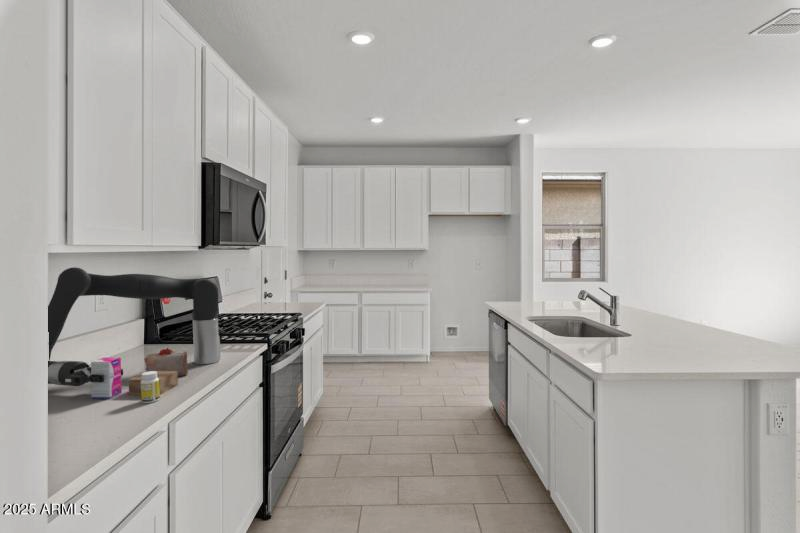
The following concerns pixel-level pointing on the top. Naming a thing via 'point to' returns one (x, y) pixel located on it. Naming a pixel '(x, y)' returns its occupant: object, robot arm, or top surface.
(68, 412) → the top surface
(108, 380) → the supplement box
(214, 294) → the robot arm
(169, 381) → the tan block
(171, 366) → the food item
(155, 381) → the supplement bottle
